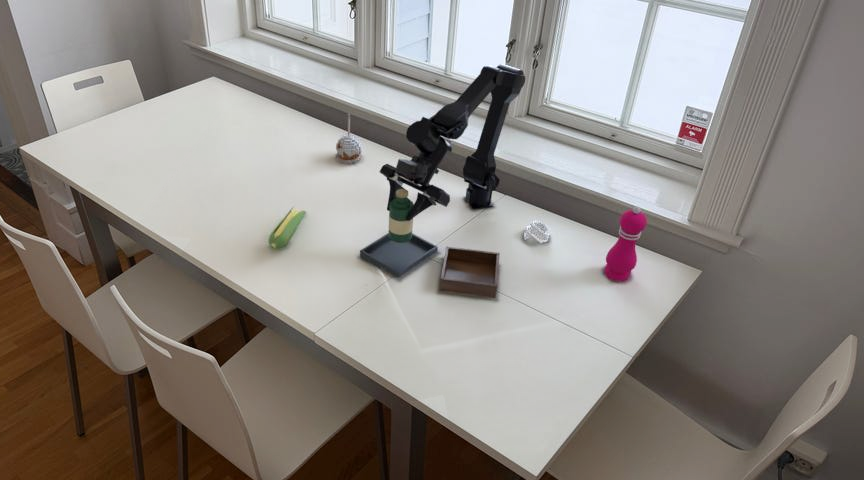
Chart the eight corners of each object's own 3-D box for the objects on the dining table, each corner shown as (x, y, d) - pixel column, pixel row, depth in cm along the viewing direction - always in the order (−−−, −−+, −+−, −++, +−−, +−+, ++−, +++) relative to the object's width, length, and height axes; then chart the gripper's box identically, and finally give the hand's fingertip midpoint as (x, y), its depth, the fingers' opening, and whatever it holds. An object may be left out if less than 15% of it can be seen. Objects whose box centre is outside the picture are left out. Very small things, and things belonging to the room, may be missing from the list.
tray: (398, 232, 178) (399, 226, 177) (437, 253, 172) (437, 246, 170) (359, 257, 169) (359, 250, 168) (398, 279, 163) (399, 272, 161)
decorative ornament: (339, 151, 213) (338, 108, 204) (363, 153, 213) (363, 110, 203) (334, 163, 207) (333, 118, 198) (359, 165, 206) (359, 121, 197)
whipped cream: (524, 230, 183) (525, 214, 180) (549, 231, 181) (550, 216, 179) (523, 245, 176) (524, 229, 173) (549, 246, 175) (550, 230, 172)
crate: (444, 259, 170) (446, 246, 167) (497, 265, 168) (499, 252, 166) (439, 292, 159) (440, 278, 157) (495, 299, 158) (497, 286, 155)
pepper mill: (598, 265, 169) (617, 198, 157) (625, 264, 170) (646, 198, 158) (607, 283, 164) (628, 215, 151) (636, 282, 164) (659, 215, 152)
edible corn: (264, 251, 170) (263, 237, 167) (294, 211, 185) (293, 197, 183) (283, 255, 169) (282, 240, 166) (311, 214, 184) (310, 200, 182)
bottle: (414, 231, 169) (417, 187, 161) (409, 244, 164) (411, 200, 156) (391, 227, 170) (393, 183, 162) (385, 240, 165) (387, 196, 157)
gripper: (385, 133, 159) (353, 190, 160) (446, 160, 150) (412, 220, 150) (405, 151, 169) (375, 205, 169) (464, 177, 159) (432, 234, 160)
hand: (397, 215), depth 162 cm, fingers closed on bottle, 6 cm apart
